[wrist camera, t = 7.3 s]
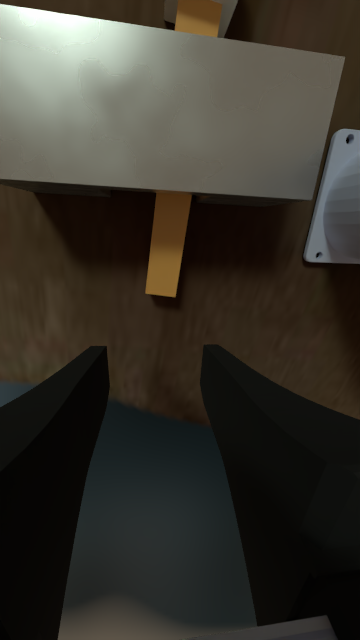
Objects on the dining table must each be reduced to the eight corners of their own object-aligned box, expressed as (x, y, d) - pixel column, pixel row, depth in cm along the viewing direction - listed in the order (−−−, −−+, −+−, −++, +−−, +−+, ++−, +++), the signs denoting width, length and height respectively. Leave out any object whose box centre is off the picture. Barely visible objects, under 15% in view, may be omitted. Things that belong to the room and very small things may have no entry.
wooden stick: (180, 290, 18) (185, 302, 15) (137, 284, 17) (135, 296, 14) (236, -43, 12) (263, -127, 9) (172, -68, 11) (179, -164, 8)
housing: (277, 114, 14) (345, 56, 9) (261, 206, 16) (311, 200, 11) (14, 84, 12) (-76, -8, 7) (33, 192, 14) (-30, 176, 9)
